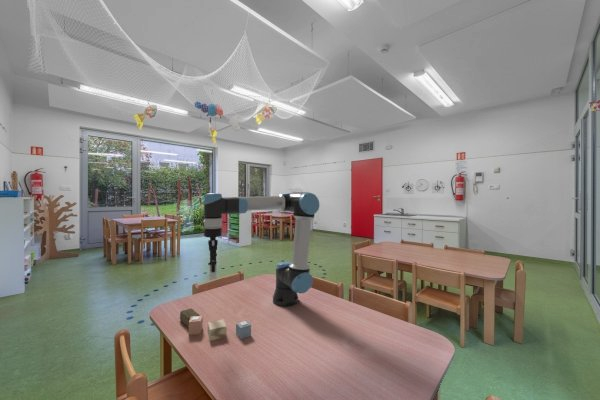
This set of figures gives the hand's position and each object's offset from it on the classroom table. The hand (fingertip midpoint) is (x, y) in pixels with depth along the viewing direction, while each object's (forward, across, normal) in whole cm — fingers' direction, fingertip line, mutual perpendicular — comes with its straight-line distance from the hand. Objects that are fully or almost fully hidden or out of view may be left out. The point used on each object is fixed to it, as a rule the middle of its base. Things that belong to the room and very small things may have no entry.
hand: (212, 274), depth 114 cm
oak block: (+27, +2, +2) cm, 27 cm away
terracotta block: (+27, -3, -7) cm, 28 cm away
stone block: (+27, -13, -10) cm, 32 cm away
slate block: (+27, +6, +13) cm, 30 cm away
